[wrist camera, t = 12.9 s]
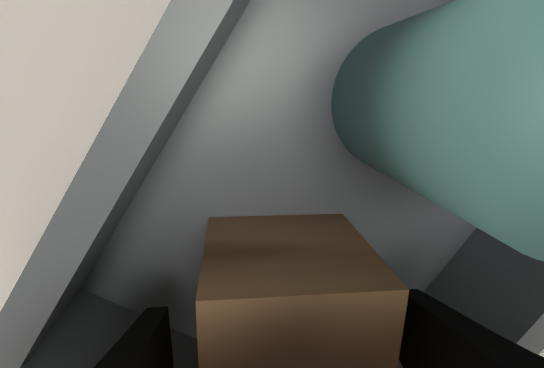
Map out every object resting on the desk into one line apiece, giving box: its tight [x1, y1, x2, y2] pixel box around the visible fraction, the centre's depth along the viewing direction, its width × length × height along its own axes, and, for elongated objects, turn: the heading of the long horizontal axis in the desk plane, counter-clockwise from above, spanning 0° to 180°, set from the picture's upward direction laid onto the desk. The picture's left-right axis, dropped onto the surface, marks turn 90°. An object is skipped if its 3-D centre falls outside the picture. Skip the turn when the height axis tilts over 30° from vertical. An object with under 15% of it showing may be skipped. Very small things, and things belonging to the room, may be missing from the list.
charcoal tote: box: [0, 0, 544, 368], centre depth 11 cm, size 14×18×5 cm
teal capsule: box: [331, 0, 544, 261], centre depth 8 cm, size 5×5×7 cm
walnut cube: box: [195, 214, 409, 368], centre depth 11 cm, size 5×5×5 cm
